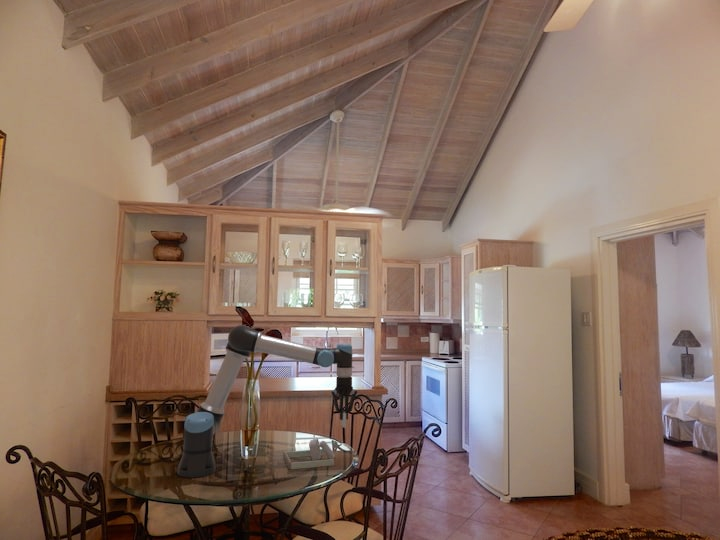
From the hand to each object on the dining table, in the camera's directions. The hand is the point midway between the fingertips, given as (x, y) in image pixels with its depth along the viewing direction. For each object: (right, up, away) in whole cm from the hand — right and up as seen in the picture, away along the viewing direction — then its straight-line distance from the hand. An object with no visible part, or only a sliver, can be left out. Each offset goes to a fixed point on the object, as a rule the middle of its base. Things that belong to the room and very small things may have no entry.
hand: (343, 426), depth 209 cm
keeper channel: (-16, -13, -8) cm, 22 cm away
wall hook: (-10, -14, -5) cm, 18 cm away
